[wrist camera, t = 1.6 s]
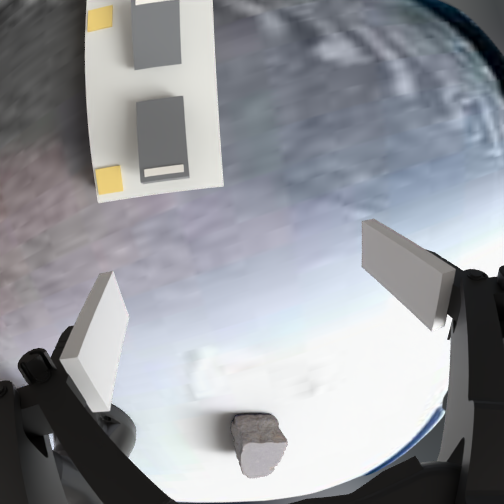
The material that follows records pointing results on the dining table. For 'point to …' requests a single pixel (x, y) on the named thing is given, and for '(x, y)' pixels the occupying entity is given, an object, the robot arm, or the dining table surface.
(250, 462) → the decorative stone
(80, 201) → the dining table surface
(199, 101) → the switch console
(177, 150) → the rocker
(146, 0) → the rocker middle
